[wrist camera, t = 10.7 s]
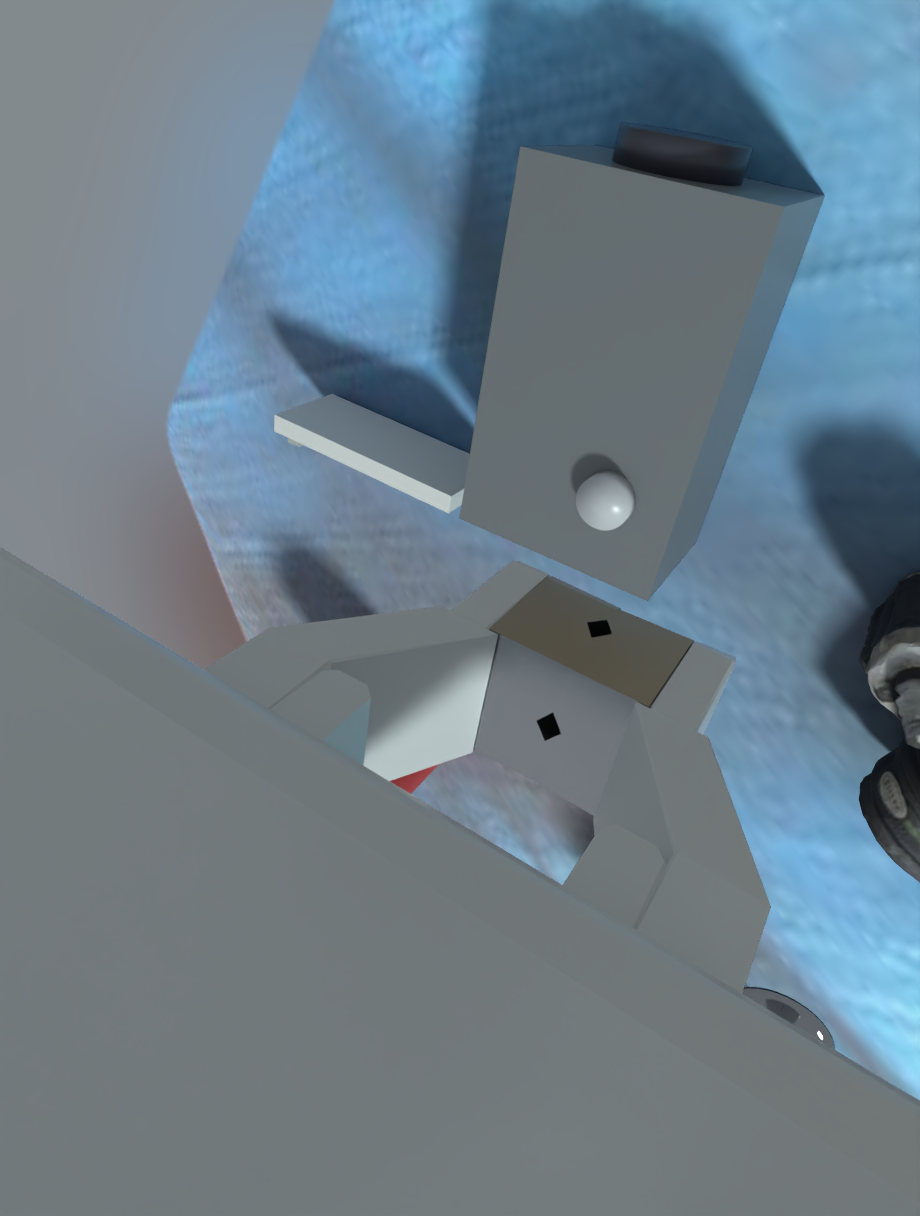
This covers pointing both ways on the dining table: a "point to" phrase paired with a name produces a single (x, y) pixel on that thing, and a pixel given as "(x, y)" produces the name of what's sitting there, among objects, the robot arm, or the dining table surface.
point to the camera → (916, 693)
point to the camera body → (627, 346)
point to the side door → (379, 449)
